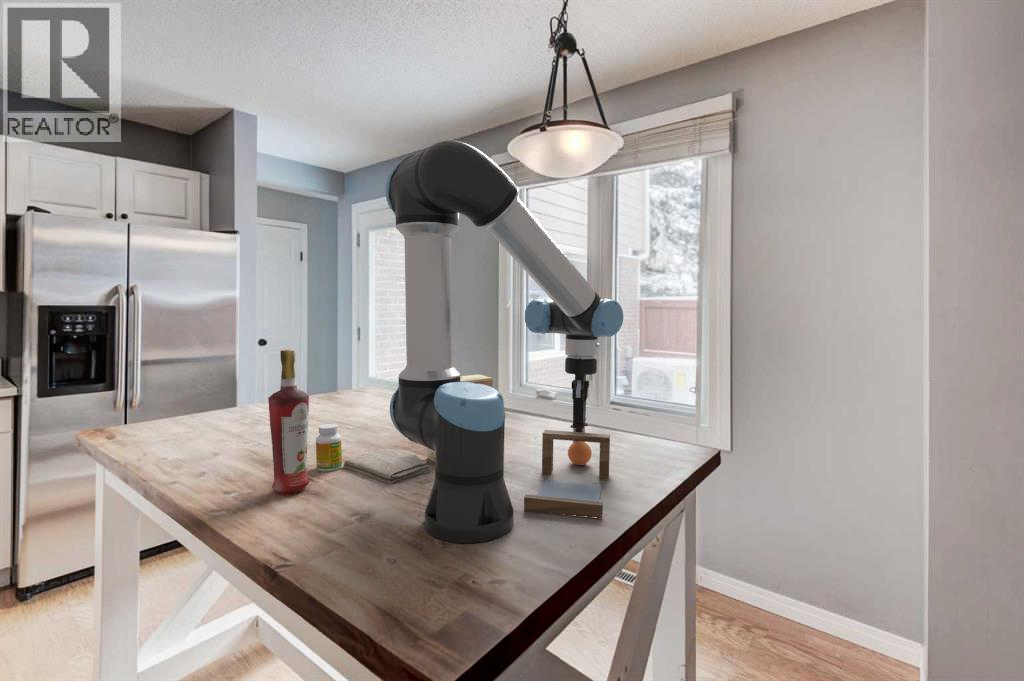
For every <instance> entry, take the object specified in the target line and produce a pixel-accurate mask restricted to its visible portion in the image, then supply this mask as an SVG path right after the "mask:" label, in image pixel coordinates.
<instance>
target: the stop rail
mask: <svg viewBox="0 0 1024 681" xmlns="http://www.w3.org/2000/svg"><path fill="white" fill-rule="evenodd" d="M603 506H604V501H599V502H596V501H587V500H577V499H567V498H557V497H547V496H537V494H535V495H534V494H527V493H526V494H525V496H524V497H523V511H524V512H530V511H534V512H533V513H539V512H544V513H543V514H548V513H552V514H551V515H558V514H565V515H564V516H567V515H576V516H587V517H597V518H602V519H603V516H602V515H603V510H604V509H603ZM576 516H575V517H576Z"/></svg>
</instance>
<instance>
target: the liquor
mask: <svg viewBox="0 0 1024 681" xmlns="http://www.w3.org/2000/svg"><path fill="white" fill-rule="evenodd" d="M279 351H280V353H279V355H280V363H281V376H280V390H277V391H276V392H273V393H272V394H271V395H270V396H269V397H268V398H267V400H268V414H269V415H268V416H269V427H270V436H271V437H270V438H271V450H272V462H273V483H272V485H271V488H272V489H273V490H275V491H276V492H277V493H278V494H280V495H282V494H284V495H285V496H287V495H286V494H290V495H296V494H298V492H299V493H300V491H301V492H302V491H304V489H305V488H306V487H307V486H308V485H309V484H310V479H309V478H308V438H309V437H308V436H309V419H310V418H309V415H310V414H309V409H310V407H309V406H310V405H309V404H310V395H309V394H308V393H306V392H305V391H304V390H301V389H298V385H297V377H296V371H295V365H296V364H295V363H296V350H295V349H283V350H282V349H281V350H279ZM295 493H296V494H295ZM284 495H283V496H284Z"/></svg>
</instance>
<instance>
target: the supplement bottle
mask: <svg viewBox="0 0 1024 681" xmlns="http://www.w3.org/2000/svg"><path fill="white" fill-rule="evenodd" d="M338 426H339V425H337V424H335V423H328V424H322V425H319V426H318V434H319V435H318V436H317V437H316V438H315V454H316V457H315V458H316V470H317V471H319V472H324V473H326V472H335V471H338V470H340V469H341V468H342V466H343V456H342V455H343V454H342V451H343V450H342V435H341V434H339V433H338V432H339V431H338V430H339V428H338Z"/></svg>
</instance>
